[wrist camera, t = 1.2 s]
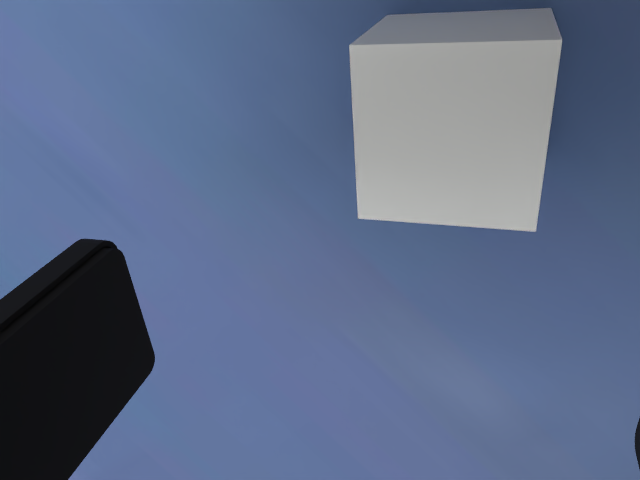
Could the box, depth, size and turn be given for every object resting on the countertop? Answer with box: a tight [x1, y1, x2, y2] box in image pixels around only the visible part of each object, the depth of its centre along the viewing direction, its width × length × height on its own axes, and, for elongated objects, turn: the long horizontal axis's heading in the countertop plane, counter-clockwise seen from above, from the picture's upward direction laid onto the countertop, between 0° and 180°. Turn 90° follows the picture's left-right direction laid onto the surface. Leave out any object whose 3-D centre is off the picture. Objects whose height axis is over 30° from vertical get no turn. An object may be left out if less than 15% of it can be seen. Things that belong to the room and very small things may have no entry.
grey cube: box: [349, 8, 562, 232], centre depth 19 cm, size 6×6×6 cm
